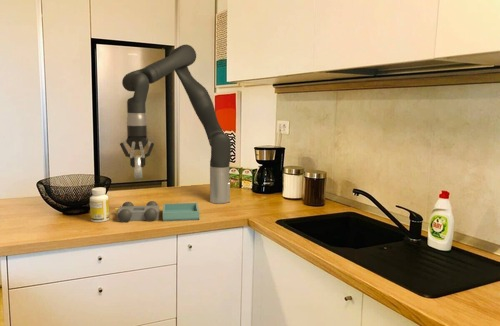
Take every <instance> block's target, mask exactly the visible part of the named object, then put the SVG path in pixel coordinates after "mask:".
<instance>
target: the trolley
mask: <svg viewBox="0 0 500 326" xmlns="http://www.w3.org/2000/svg"><path fill="white" fill-rule="evenodd" d="M114 214H115V215H116V217H117V219H116V221H117V222H121V223H128V222H134V221H135V222H136V221H138V222H140V221H142V222H143V221H147V222H154V221H159V218H160V205H159V204H158V203H157V202H156V201H154V200H150V201H148V202H147V203H146V205H134V204H133V202H131V201H126V202H124V203H122V206H119V207H115V208H114Z"/></svg>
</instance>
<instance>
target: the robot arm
mask: <svg viewBox="0 0 500 326" xmlns="http://www.w3.org/2000/svg"><path fill="white" fill-rule="evenodd" d="M196 60H197V53H196V50H195V48H194V47H193V46H192V45H190V44H181V45H180V46H178V47H176V48H174V49H171V51H169V54H168V55H167V56H166V57H163V58H161V59H159V60H157V61H154V62H153V63H150V64H148V65H146V66H144V67H143V68H140V69H137V70H133V71H130V72H128V73H127V74H125V75H124V77H123V78H122V81H121V83H122V87H123V88H124V89H125V90H126V91H128V92H133V95H132V97H130V98H128V99H127V101H126V112H127V117H126V131H127V132H126V134H127V135H126V136H127V138H126V140H125V141H123V142H120V143H119V146H120V147H121V150H122V152H123V154H124V156H125V157H127V158H129V159H130V160H129V162H130V163H129V164H130V167H131V168H134V156H135V151H136V150H138V151H140V154H141V155H140V156H142V168H144V167H145V166H146V158H148V157H150V155H151V153H152V151H153V148H154V145H155V142H154V141H150V140H149V139H148V133H147V132H148V130H147V127H148V126H147V115H146V109H147V108H146V102H147V98H148V94H149V90H150V84H154V83H156V82H158V81H160V80H161V79H163V78H164V77H166V76H167V75H169V74H170V73H172V72H175V74H176V75H177V77H178V79H179V81H180V83H181V84H182V86H183V88H184V91H185V93H186V95H187V97H188V99H189V102H190V104H191V106H192V108H193V111H194V113H195V114H196V116H197V118H198V120H199V121H200V123H201V125H202V126H203V129H204V131H205V134H206V137H207V140H208V144H209V146H210V161H209V202H210V203H212V204H227V203H231V182H230V164H231V163H230V162H231V155H232V154H231V152H232V151H231V150H232V149H231V148H232V142H231V138H230V137H229V135H228V134H226V133H225V132H224V131H223V129H222V127H221V125H220V123H219V121H218V118H217V114H216V110H215V106H214V103H213V100H212V98H211V95H210V93H209V91H208V90H207V89H206V87H204V86H203V85H202V83H200V82H199V81H197V80H196V79H195V77H193V74H192V73H191V71H190V70H189V66H191V65H194V63H195V62H196ZM127 145H128V147H130V153H129V152H128V150H127V149H128V148H127ZM146 145H148V151H147V153H146V152H145V147H146Z"/></svg>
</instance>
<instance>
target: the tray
mask: <svg viewBox="0 0 500 326" xmlns="http://www.w3.org/2000/svg"><path fill="white" fill-rule="evenodd" d="M180 221H200V209H199V205H198V203H197V202H180V203H179V202H177V203H162V222H180Z"/></svg>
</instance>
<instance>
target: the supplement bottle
mask: <svg viewBox="0 0 500 326" xmlns="http://www.w3.org/2000/svg"><path fill="white" fill-rule="evenodd" d="M106 191H107V189H106V187H100V186H99V187H93V188H91V194H92V195H91V196H89V208H90V209H89V210H90V212H89V213H90V221H91V222H93V223H102V222H108V221H109V220H110V202H109V201H110V200H109V196H108V195H107V194H106Z"/></svg>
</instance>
